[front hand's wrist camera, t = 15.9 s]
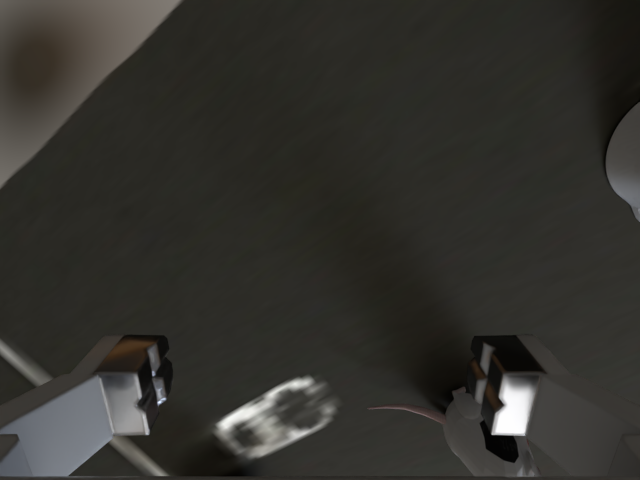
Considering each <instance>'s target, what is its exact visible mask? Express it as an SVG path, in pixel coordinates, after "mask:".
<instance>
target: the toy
mask: <svg viewBox="0 0 640 480" xmlns="http://www.w3.org/2000/svg"><path fill="white" fill-rule="evenodd" d="M465 392H466V389H465V387H461V388H459V389H458V390H454V391H452V394H453V397H454V400H453V401H452V402H451V403H450V405H449V406H448V407H447V410H446V413H445V415H444V414H441V413H439V412H436V411H433V410H430V409H427V408H424V407H419V406H414V405H409V404H386V405H381V406H375V407H370V408H368V409H377V408H394V409H405V410H409V411H412V412H415V413H418V414H421V415H425V416H427V417H429V418H431V419H433V420H435V421H438V422H440V423H442V426H443V429H444V434H445V438H446V441H447V443H448V445H449V447H450V448H451V450H452V451H453V452H454V453H455V454H456V455H457V456H459V458H460V459H461V460H462V461H463V463H464V464H465V465H466V466H467V468H468V469H469V470H470V471H471V472H472V474H473V475H474V476H534V474H535V476H541V473H540V470H539V468H538V467H537V466H536V465H535V463H534V459H533V457H532V454H531V451H530V448H529V444H528V441H527V439H526V436H516V435H491V433H490V431H489V429H488V427H487V425H486V423H485V421H484V419H483V417H482V415H481V408H482V405H480V404H479V403H477V402H476V401H475V400H474V399H473V397H472V395H471V394H468V393H465Z"/></svg>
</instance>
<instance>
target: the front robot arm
mask: <svg viewBox="0 0 640 480" xmlns="http://www.w3.org/2000/svg"><path fill="white" fill-rule="evenodd" d="M606 173H607V177H608V180H609V183H610V185H611V186H612V188H613V189H614V191H615V192H616V193H617V194H618V195H619V196H620V197H621V198H623V199H624V200H625V201H627V202H628V203H629V204H630V205H631V208H632V210H633V213H634V215H635V217H636V219H637V220H638V221H640V102H639V103H638V104H636V105H635V106H634V107H633V108H632V109H631V110H630V111H629V112H628V113H627V114H626V115H625V117H624V118H623V119H622V120H621V122H620V123H619V125H618V126H617V128H616V130H615V131H614V133H613V135H612V138H611V140H610V143H609V146H608V149H607V154H606ZM168 351H169V344H168V340H167V338H166V337H165V336H164V335H106V336H103V337H102V339H101V340H100V341H99V342H98V343H97V344H96V345H95V346H94V348H93V349H92V350H91V351H90V352H89V353H88V354H87V355H86V356H85V358H84V359H83V360H82V361H81V362H80V363H79V364H78V365H77V366H76V368H75V369H74V370H73V371H72V372H71V373H70V374H63V375H61V376H59V377H57V378H55V379H53V380H51V381H49V382H47V383H45V384H43V385H41V386H39V387H37V388H35V389H33V390H31V391H29V392H27V393H25V394H23V395H21V396H19V397H17V398H15V399H13V400H11V401H9V402H7V403H5V404H3V405H1V406H0V480H640V406H639V405H637V404H635V403H633V402H631V401H629V400H627V399H625V398H623V397H621V396H619V395H617V394H615V393H613V392H611V391H609V390H607V389H605V388H603V387H601V386H599V385H597V384H595V383H593V382H591V381H589V380H587V379H585V378H583V377H581V376H579V375H577V374H570V373H569V372H568V371H567V370H566V369H565V368H564V366H563V365H562V364H561V363H560V362H559V361H558V360H557V359H556V358H555V356H554V355H553V354H552V353H551V352H550V351H549V350H548V349H547V348H546V346H545V345H544V344H543V343H542V342H541V341H540V340H539V339H538V337H536V336H534V335H532V334H525V335H501V336H474V338H473V340H472V344H471V351H472V353H473V354H474V356H475V357H474V358H473V359H472V360H471V361H470V362H469V363H468V369H467V381H468V387H469V390H470V393H471V395H472V397H473V399H474V400H475V401H476V402H477V403H479V404H480V405H482V408H481V415H482V417H483V419H484V421H485V423H486V425H487V427H488V429H489V431H490V433H491V435H516V436H527V438H528V439H529V440H530V441H531V442H533V443H534V444H535V445H536V446H537V447H539V448H540V449H541V450H542V451H543V452H545V453H546V454H547V455H548V456H549V457H551V458H552V459H553V460H554V461H555V462H556V463H558V464H559V465H560V466H561V467H562V468H564V469H565V470H566V471H567V472H568V473H570V474H571V475H572V476H68V475H69V474H71V473H72V472H73V471H74V470H75V469H77V468H78V467H79V466H80V465H81V464H82V463H84V462H85V461H86V460H87V459H88V458H90V457H91V456H92V455H93V454H94V453H96V452H97V451H98V450H99V449H100V448H102V447H103V446H104V445H105V444H106V443H108V442H109V441H110V440H111V439H112V438H113V436H123V435H149V433H150V431H151V429H152V427H153V425H154V423H155V421H156V419H157V417H158V415H159V408H158V405H160V404H161V403H163V402H164V401H165V400H166V399H167V397H168V395H169V393H170V390H171V386H172V381H173V368H172V363H171V362H170V361H169V360H168V359H167V358H166V357H165V356H166V354H167V353H168Z"/></svg>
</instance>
